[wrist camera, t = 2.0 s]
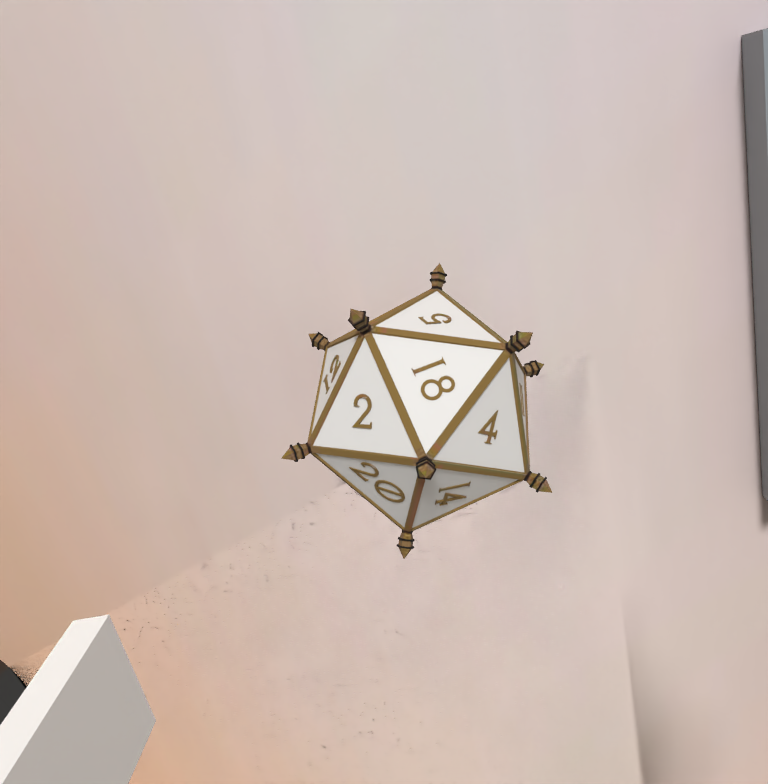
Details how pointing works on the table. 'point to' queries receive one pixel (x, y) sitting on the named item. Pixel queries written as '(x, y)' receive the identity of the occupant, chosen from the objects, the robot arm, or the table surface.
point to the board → (758, 212)
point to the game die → (422, 410)
